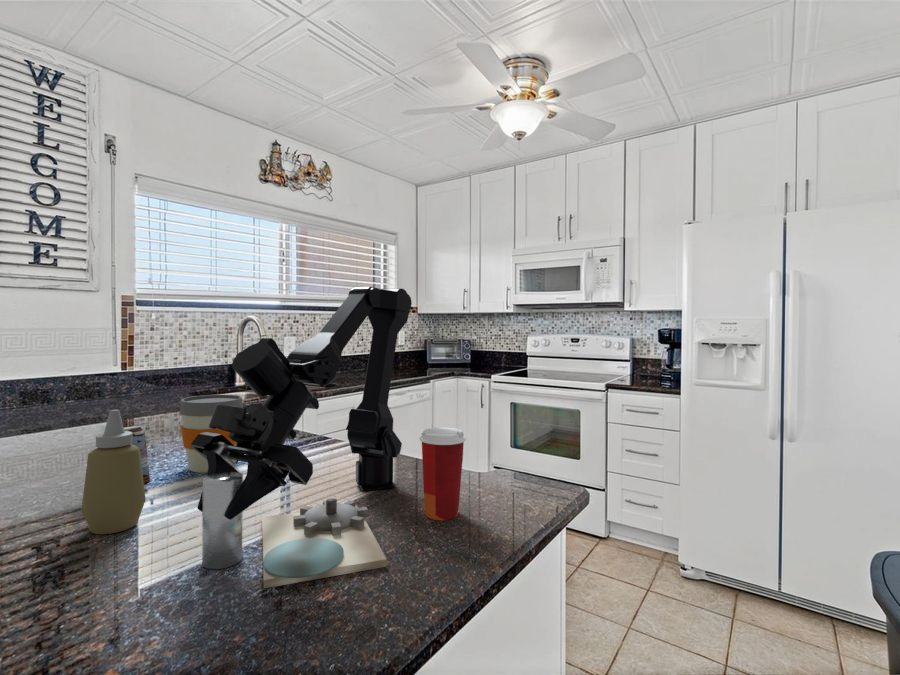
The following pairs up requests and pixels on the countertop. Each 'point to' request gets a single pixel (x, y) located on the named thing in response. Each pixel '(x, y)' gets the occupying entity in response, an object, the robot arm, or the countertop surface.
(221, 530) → the axle
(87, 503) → the squeeze bottle
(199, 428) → the reusable coffee cup
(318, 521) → the board
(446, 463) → the paper cup
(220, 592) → the countertop surface
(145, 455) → the beverage can
